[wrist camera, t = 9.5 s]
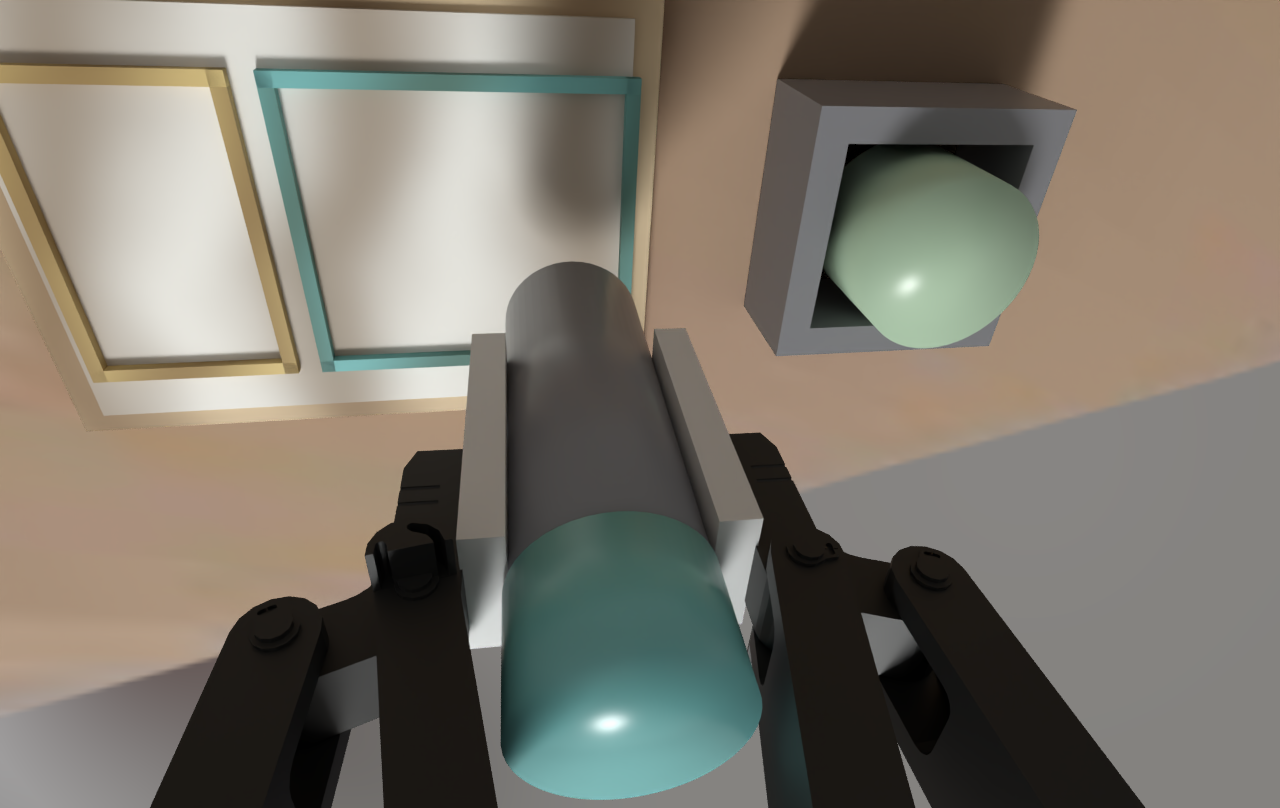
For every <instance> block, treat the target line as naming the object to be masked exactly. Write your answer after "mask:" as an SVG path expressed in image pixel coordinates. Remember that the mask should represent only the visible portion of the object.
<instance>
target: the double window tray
mask: <svg viewBox="0 0 1280 808" xmlns="http://www.w3.org/2000/svg"><path fill="white" fill-rule="evenodd" d="M664 2H665V0H0V250H1V252H2V254H3V256H4V258H5V261H6V263H7V265H8V267H9V269H10V271H11V273H12V275H13V277H14V280H15V282H16V284H17V286H18V288H19V290H20V292H21V294H22V296H23V299H24V301H25V303H26V305H27V307H28V309H29V311H30V313H31V315H32V317H33V320H34V322H35V324H36V326H37V328H38V330H39V332H40V334H41V336H42V339H43V341H44V343H45V345H46V347H47V349H48V351H49V353H50V355H51V358H52V360H53V362H54V364H55V366H56V368H57V370H58V372H59V374H60V377H61V379H62V381H63V383H64V385H65V387H66V389H67V391H68V393H69V396H70V398H71V400H72V402H73V404H74V406H75V408H76V410H77V412H78V415H79V417H80V419H81V421H82V423H83V425H84V427H85V429H86V431H104V430H121V429H139V428H156V427H174V426H191V425H209V424H227V423H244V422H262V421H279V420H297V419H314V418H332V417H349V416H367V415H384V414H402V413H419V412H437V411H454V410H466V404H467V391H468V379H469V366H470V353H471V340H472V334H487V333H505V322H506V311H507V307H508V304H509V301H510V299H511V297H512V295H513V293H514V291H515V290H516V289H517V287H518V286H519V285H520V284H521V283H522V282H523V281H524V280H525V279H526V278H527V277H528V276H530V275H531V274H532V273H534V272H536V271H537V270H539V269H541V268H544V267H546V266H549V265H552V264H555V263H560V262H570V261H575V262H585V263H591V264H594V265H597V266H600V267H602V268H604V269H606V270H608V271H609V272H611V273H613V274H614V275H615V276H616V277H618V278H619V279H620V280H621V281H622V282H623V283H624V285H625V286H626V287H627V289H628V290H629V292H630V294H631V296H632V298H633V300H634V303H635V307H636V310H637V313H638V316H639V319H640V322H641V326H642V329H643V332H644V321H645V305H646V289H647V273H648V257H649V241H650V225H651V209H652V193H653V177H654V161H655V146H656V130H657V114H658V98H659V82H660V66H661V50H662V34H663V18H664Z"/></svg>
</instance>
